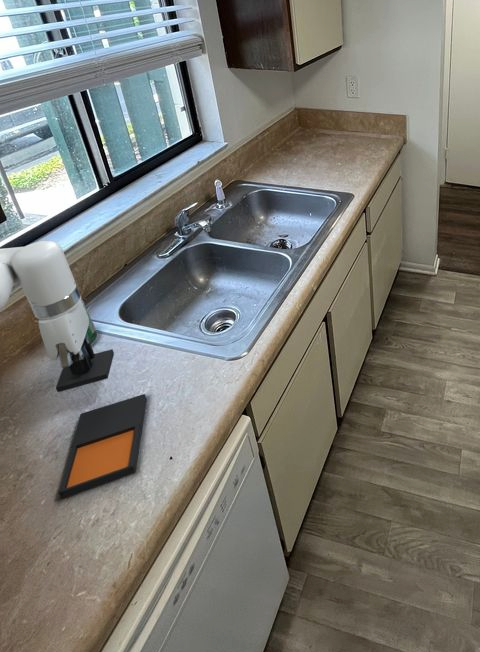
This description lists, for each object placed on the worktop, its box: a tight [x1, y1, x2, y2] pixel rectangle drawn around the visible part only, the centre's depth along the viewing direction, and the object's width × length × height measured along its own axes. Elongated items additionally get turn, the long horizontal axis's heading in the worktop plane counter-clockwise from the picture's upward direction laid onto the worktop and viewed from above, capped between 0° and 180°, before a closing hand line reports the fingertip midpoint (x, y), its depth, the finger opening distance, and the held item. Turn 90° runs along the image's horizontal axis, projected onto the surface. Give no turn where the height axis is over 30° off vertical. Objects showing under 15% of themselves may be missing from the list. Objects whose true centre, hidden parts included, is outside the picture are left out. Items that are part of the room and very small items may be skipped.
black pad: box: [55, 343, 115, 393], centre depth 93 cm, size 9×7×7 cm
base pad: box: [57, 393, 148, 499], centre depth 87 cm, size 12×16×2 cm
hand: (84, 364), depth 94 cm, fingers closed on black pad, 2 cm apart
